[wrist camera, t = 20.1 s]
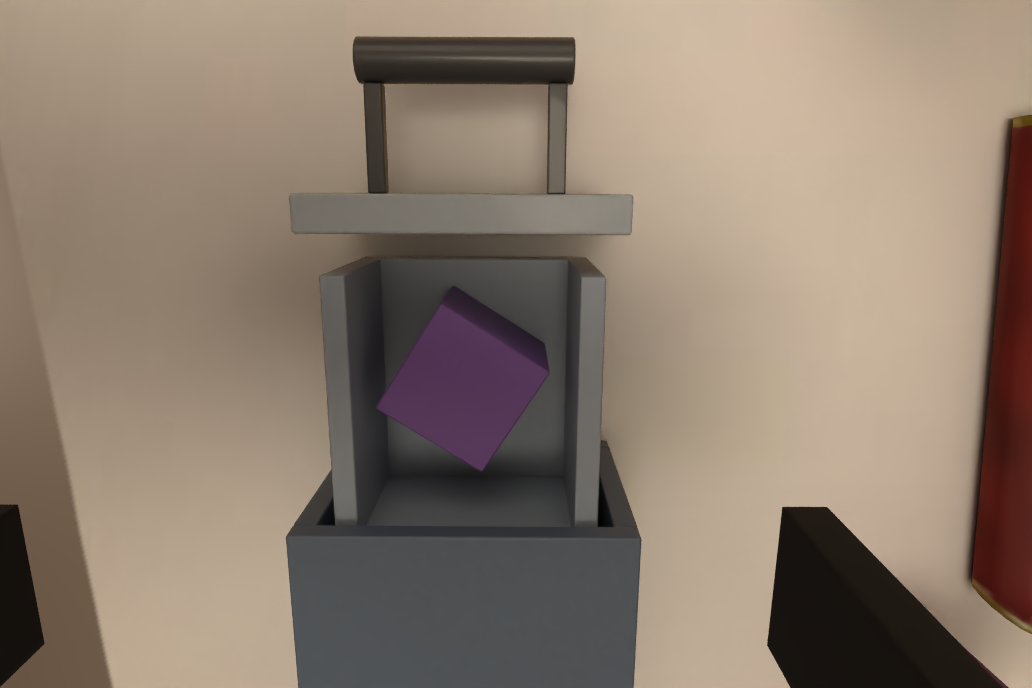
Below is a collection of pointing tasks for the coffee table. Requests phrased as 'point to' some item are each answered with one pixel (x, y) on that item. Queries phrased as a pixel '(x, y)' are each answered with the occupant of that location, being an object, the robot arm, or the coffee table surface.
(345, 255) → the coffee table surface
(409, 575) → the small cabinet
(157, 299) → the coffee table surface
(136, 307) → the coffee table surface
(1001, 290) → the hardcover book
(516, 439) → the drawer
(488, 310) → the purple matte cube
